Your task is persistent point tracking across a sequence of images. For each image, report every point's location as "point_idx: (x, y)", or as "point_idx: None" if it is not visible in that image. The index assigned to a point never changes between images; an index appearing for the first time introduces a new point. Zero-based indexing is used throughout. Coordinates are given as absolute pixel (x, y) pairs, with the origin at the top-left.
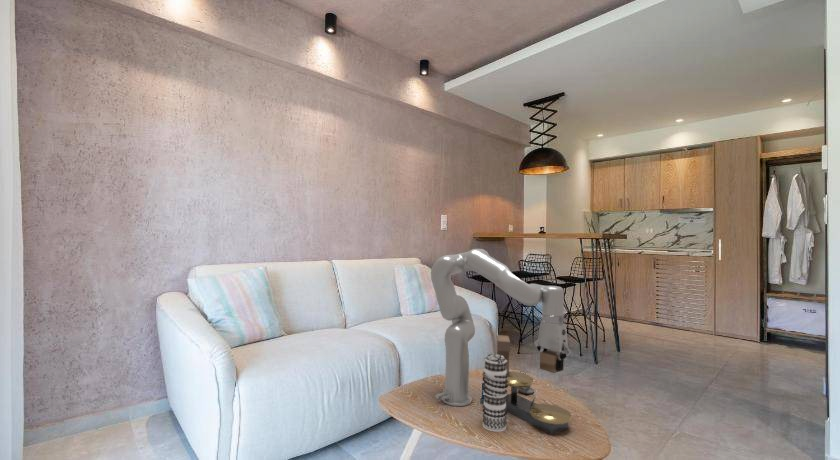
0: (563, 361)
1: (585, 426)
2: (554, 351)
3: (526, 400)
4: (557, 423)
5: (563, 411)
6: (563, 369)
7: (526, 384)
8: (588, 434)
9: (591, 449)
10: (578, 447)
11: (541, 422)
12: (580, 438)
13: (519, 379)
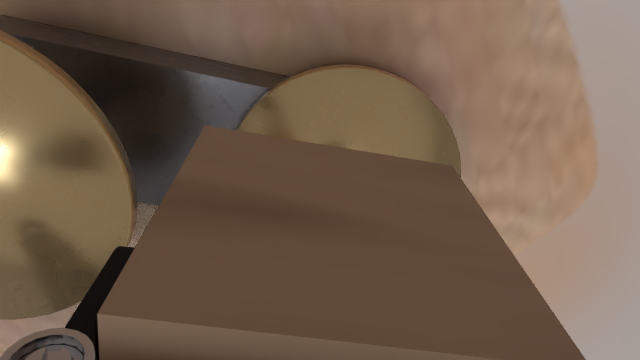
0: (503, 251)
1: (491, 7)
2: (280, 341)
3: (118, 76)
4: None
5: (402, 118)
6: (455, 173)
7: (129, 236)
8: (521, 89)
9: (551, 207)
10: (502, 229)
11: None
12: (494, 155)
13: (14, 196)
